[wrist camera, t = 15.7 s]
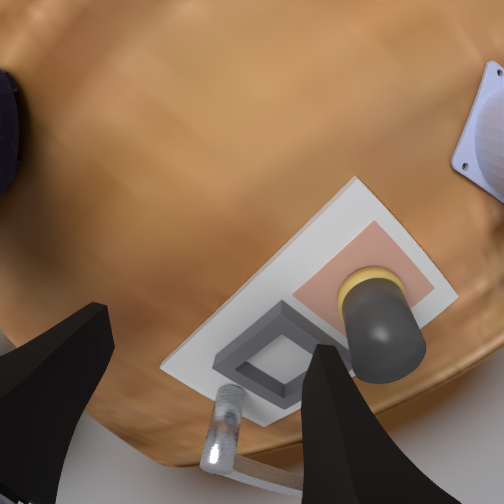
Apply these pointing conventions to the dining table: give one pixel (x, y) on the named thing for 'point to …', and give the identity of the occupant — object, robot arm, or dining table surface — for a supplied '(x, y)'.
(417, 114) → the dining table surface
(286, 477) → the retention clip
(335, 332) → the dock board
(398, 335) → the plug
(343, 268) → the pad
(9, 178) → the red-striped navy canister
